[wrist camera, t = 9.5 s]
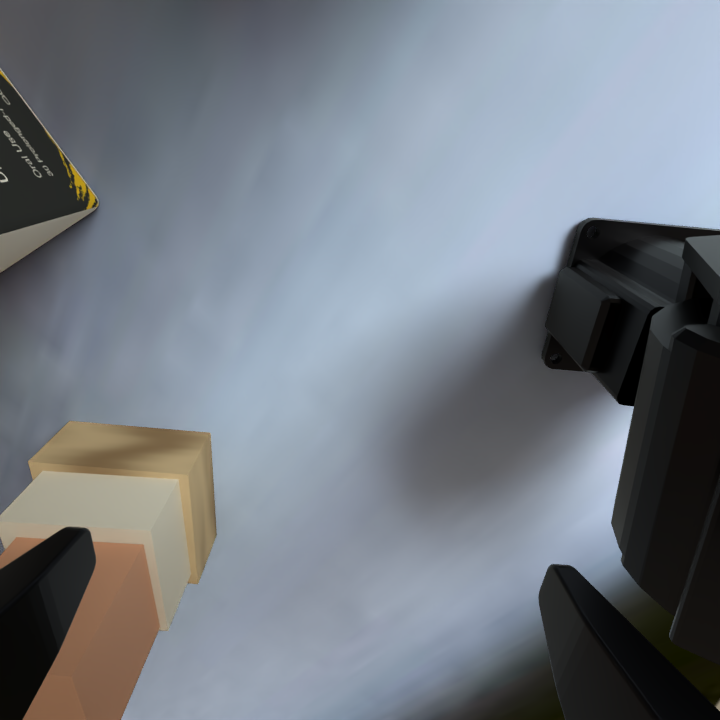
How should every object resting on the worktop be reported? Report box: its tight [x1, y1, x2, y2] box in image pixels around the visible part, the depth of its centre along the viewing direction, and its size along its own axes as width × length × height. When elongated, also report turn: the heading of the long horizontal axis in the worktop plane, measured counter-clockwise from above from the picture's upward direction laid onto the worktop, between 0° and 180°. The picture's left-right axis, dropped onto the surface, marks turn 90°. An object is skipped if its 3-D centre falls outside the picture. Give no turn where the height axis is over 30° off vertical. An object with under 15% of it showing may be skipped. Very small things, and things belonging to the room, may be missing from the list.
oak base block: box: [28, 421, 217, 584], centre depth 24 cm, size 7×7×4 cm
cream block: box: [0, 471, 191, 631], centre depth 21 cm, size 6×6×3 cm
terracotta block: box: [0, 537, 160, 720], centre depth 18 cm, size 5×5×5 cm
